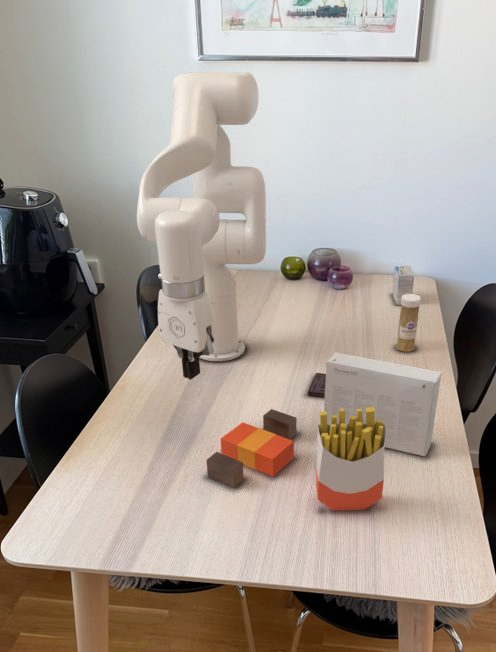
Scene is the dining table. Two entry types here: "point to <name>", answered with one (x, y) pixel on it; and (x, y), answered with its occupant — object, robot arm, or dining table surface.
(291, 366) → the dining table surface
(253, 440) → the orange packet
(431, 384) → the skincare box
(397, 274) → the medicine box
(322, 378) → the chocolate bar
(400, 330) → the sprinkles bottle
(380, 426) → the french fries container
